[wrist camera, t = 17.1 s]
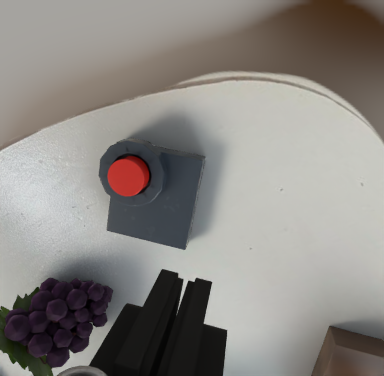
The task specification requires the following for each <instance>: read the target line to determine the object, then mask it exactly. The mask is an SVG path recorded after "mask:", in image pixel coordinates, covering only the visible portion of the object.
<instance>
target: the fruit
mask: <svg viewBox="0 0 384 376" xmlns="http://www.w3.org/2000/svg"><path fill="white" fill-rule="evenodd" d="M112 293H113V290H112V289H111V288H109V287H108V286H101V285H100V284H95V283H94V282H93V281H92V280H91V281H87V282H83V281H81V280H79V279H77V278H76V279H74V280H73V281H72V282H71V283H67V282H59V281H57V280H55V279H53V278H48V279H47V280H46V281H44V282H43V283H42V284H41V286H40V289H39V287H37V288H36V289H35V290H34V291H33V292H32V293H31V294H30V295H29V296H27V294H25V297H24V298H23V299H22V298H20V296H19V295H18V296H17V299H16V301H15V303H14V305H13V310H11V311H9V310H8V309H6V308H4V307H2V306H1V310H0V350H2V351H3V353H7V354H8V355H9V358H10V360H11V362H12V363H13V364H14V363H15V362H16V361H17V362H18V363H19V365H20V366H21V367H22V368H23V369H24V370H25V368H26V367H27V366H28V368H29V371H31V372H32V373H33V375H34V376H53V373H52V370H51V369H52V368H54V367H62V366H63V365H64V364H65V363H66V362H67V360H68V359H69V358H70V357H69V350H70V351H72V352H73V353H77V352H81V351H83V350H84V349H85V348H86V347H87V346H88V345H89V336H90V334H91V332H92V330H93V326H92V324H91V323H89V322H93V325H94V326H95V327H101V326H104V325H105V323H106V322H107V317H106V313H104V312H105V311H106V309H107V307H108V302H110V301H111V297H112ZM67 346H68V347H67ZM46 354H47V355H46Z"/></svg>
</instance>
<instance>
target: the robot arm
mask: <svg viewBox="0 0 384 376" xmlns="http://www.w3.org/2000/svg"><path fill="white" fill-rule="evenodd" d="M211 285H212V282H211V281H207V280H203V279H199V278H196V279H195V282H192V281H188V283H187V286H186V289H185V292H184V295H183V298H182V301H181V304H180V307H179V310H178V306H179V301H180V296H181V291H182V286H183V279H181V278H178V273H176V272H172V271H168V270H164V269H162V270H161V272H160V274H159V276H158V278H157V280H156V282H155V284H154V286H153V288H152V289H151V291H150V293H149V295H148V297H147V299H146V301H145V303H144V305H143V307H140V306H137V305H133V304H129V303H127V304H126V305H125V306H124V308H123V309H122V311H121V313H120V314H119V316H118V318H117V319H116V321H115V323H114V324H113V326H112V328H111V329H110V331H109V333H108V334H107V336H106V338H105V339H104V341H103V343H102V344H101V346H100V348H99V349H98V351H97V353H96V354H95V356H94V358H93V359H92V361H91V363H90V364H89V366H77V367H72V368H69V369H67V370H65V371H63V372H61V373H59V374H58V375H57V376H223V369H224V359H225V349H226V340H227V330H225V329H221V328H217V327H214V326H210V325H206V324H204V319H205V314H206V309H207V304H208V300H209V295H210V290H211ZM177 311H178V313H177Z"/></svg>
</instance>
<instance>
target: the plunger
mask: <svg viewBox="0 0 384 376" xmlns="http://www.w3.org/2000/svg"><path fill="white" fill-rule="evenodd" d="M148 181H149V170H148V167H147V165H146V164H145V163H144V162H143V161H142V160H141V159H139V158H137V157H135V156H126V157H123V158H121V159H119V160H117V161H116V162H114V163H113V164H112V165H111V166H110V168H109V171H108V182H109V184H110V186H111V188H112V189H113V190H114V191H115V192H116V193H118V194H120V195H122V196H133V195H136V194H137V193H139V192H140V191H141V190H142V189H143V188H144V187H145V186H146V185H147V183H148Z"/></svg>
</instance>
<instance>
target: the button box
mask: <svg viewBox="0 0 384 376" xmlns="http://www.w3.org/2000/svg"><path fill="white" fill-rule="evenodd" d="M126 156H135V157H137V158H139V159H141V160H142V161H143V162H144V163H145V164H146V165H147V167H148V170H149V181H148V183H147V185H146V186H145V187H144V188H143V189H142V190H141V191H140V192H139V193H137V194H136V195H133V196H122V195H120V194H118V193H116V192H115V191H114V190H113V189H112V188H111V186H110V184H109V182H108V171H109V168H110V166H111V165H112V164H113V163H114V162H116V161H117V160H119V159H121V158H123V157H126ZM204 163H205V157H204V156H200V155H195V154H190V153H186V152H181V151H177V150H172V149H167V148H163V147H158V146H153V145H152V144H151V143H150V142H149V141H144V140H139V139H135V138H131V139H128V140H125V139H124V140H121V141H119V142H117V143H116V144H114V145H112V146H110V147H109V148H108V150H107V151H106V152H105V154H104V155H103V156H102V158H101V159H100V169H99V177H100V180H101V182H102V185H103V187H104V189H105V192H106V193H107V194H108V195H110V205H109V214H108V223H107V231H111V232H115V233H119V234H123V235H127V236H131V237H135V238H139V239H143V240H147V241H151V242H155V243H159V244H163V245H167V246H171V247H175V248H179V249H183V250H185V249H186V247H187V245H188V242H189V238H190V233H191V228H192V223H193V218H194V213H195V208H196V203H197V198H198V193H199V188H200V183H201V178H202V173H203V168H204Z"/></svg>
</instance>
